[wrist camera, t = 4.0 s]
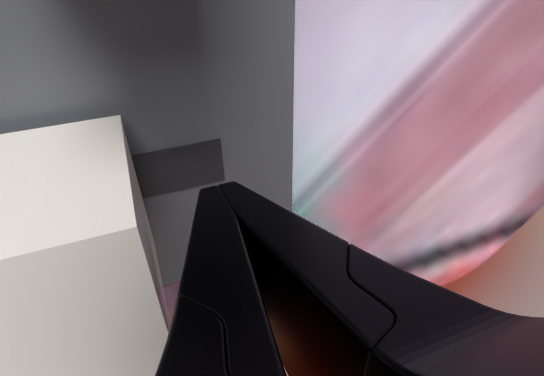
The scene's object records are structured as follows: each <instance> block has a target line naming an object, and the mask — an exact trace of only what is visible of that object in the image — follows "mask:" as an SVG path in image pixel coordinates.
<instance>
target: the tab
mask: <svg viewBox="0 0 544 376" xmlns="http://www.w3.org/2000/svg"><path fill="white" fill-rule="evenodd" d="M169 329H170V320H169V315H168V310H167V305H166V300H165V295H164V290H163V285H162V280H161V274H160V269H159V264H158V259H157V254H156V249H155V244H154V239H153V236H152V232H151V228H150V224H149V221H148V217H147V213H146V210H145V206H144V202H143V198H142V195H141V191H140V187H139V183H138V180H137V176H136V172H135V169H134V165H133V161H132V157H131V154H130V150H129V146H128V142H127V139H126V135H125V131H124V128H123V124H122V120H121V116H120V115H116V116H110V117H104V118H98V119H92V120H85V121H79V122H73V123H67V124H61V125H55V126H48V127H42V128H36V129H30V130H24V131H17V132H11V133H5V134H0V376H155V374H156V371H157V368H158V365H159V362H160V359H161V356H162V353H163V350H164V347H165V344H166V341H167V337H168V333H169Z"/></svg>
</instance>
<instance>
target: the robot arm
mask: <svg viewBox="0 0 544 376" xmlns="http://www.w3.org/2000/svg"><path fill="white" fill-rule="evenodd" d="M283 365H284V366H283ZM284 367H285V369H286V371H287V373H288V375H289V376H544V318H542V317H541V318H540V317H528V316H520V315H515V314H510V313H505V312H503V311H499V310H496V309H493V308H491V307H488V306H485V305H483V304H480V303H478V302H475V301H473V300H471V299H469V298H466V297H464V296H462V295H459V294H457V293H455V292H453V291H450V290H448V289H446V288H443V287H441V286H439V285H436V284H434V283H432V282H429V281H427V280H425V279H422V278H420V277H418V276H415V275H413V274H411V273H409V272H407V271H404V270H402V269H400V268H398V267H396V266H393V265H391V264H389V263H387V262H385V261H383V260H381V259H379V258H377V257H375V256H373V255H371V254H369V253H367V252H365V251H364V250H362V249H360V248H358V247H356V246H354V245H353V244H350V245H349V243H348V242H347V241H345V240H343V239H341V238H339V237H337V236H336V235H334V234H332V233H330V232H328V231H326V230H325V229H323V228H321V227H319V226H317V225H315V224H313V223H312V222H310V221H308V220H306V219H304V218H302V217H300V216H299V215H297V214H295V213H293V212H291V211H289V210H287V209H286V208H284V207H282V206H280V205H278V204H276V203H275V202H273V201H271V200H269V199H267V198H265V197H263V196H262V195H260V194H258V193H256V192H254V191H252V190H250V189H249V188H247V187H245V186H243V185H241V184H239V183H238V182H235V181H232V182H227V183H223V184H219V185H218V186H217V185H215V186H210V187H206V188H202V189H200V191H199V195H198V199H197V204H196V209H195V214H194V219H193V223H192V228H191V233H190V238H189V243H188V247H187V252H186V257H185V262H184V267H183V271H182V276H181V281H180V286H179V291H178V298H177V299H176V304H175V308H174V313H173V317H172V321H171V325H170V329H169V333H168V337H167V341H166V344H165V347H164V350H163V353H162V356H161V359H160V362H159V365H158V368H157V371H156V374H155V376H286V373H285V369H284Z"/></svg>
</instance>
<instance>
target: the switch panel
mask: <svg viewBox="0 0 544 376" xmlns="http://www.w3.org/2000/svg"><path fill="white" fill-rule="evenodd" d="M294 24H295V0H0V134H5V133H11V132H17V131H24V130H30V129H36V128H42V127H48V126H55V125H61V124H67V123H73V122H79V121H85V120H92V119H98V118H104V117H110V116H116V115H120V116H121V120H122V124H123V128H124V131H125V135H126V139H127V142H128V146H129V150H130V154H131V157H132V161H133V165H134V169H135V172H136V176H137V180H138V183H139V187H140V191H141V195H142V198H143V202H144V206H145V210H146V213H147V217H148V221H149V224H150V228H151V232H152V236H153V239H154V244H155V249H156V254H157V259H158V264H159V269H160V274H161V280H162V285H163V287H164V286H167V285H171V284H174V283H178V282H180V281H181V276H182V271H183V267H184V262H185V257H186V252H187V247H188V243H189V238H190V233H191V228H192V223H193V219H194V214H195V209H196V204H197V199H198V195H199V191H200V189H202V188H206V187H210V186H215V185H217V186H218V185H219V184H223V183H227V182H232V181H235V182H238V183H239V184H241V185H243V186H245V187H247V188H249V189H250V190H252V191H254V192H256V193H258V194H260V195H262V196H263V197H265V198H267V199H269V200H271V201H273V202H275V203H276V204H278V205H280V206H282V207H284V208H286V209H287V210H289V211H291V212H292V153H293V88H294Z"/></svg>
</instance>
